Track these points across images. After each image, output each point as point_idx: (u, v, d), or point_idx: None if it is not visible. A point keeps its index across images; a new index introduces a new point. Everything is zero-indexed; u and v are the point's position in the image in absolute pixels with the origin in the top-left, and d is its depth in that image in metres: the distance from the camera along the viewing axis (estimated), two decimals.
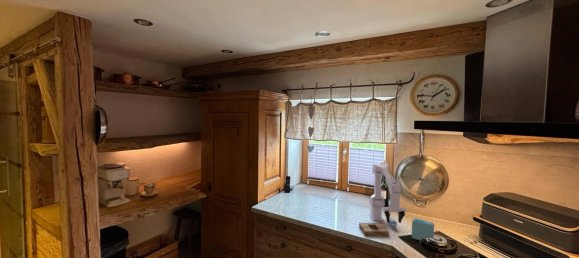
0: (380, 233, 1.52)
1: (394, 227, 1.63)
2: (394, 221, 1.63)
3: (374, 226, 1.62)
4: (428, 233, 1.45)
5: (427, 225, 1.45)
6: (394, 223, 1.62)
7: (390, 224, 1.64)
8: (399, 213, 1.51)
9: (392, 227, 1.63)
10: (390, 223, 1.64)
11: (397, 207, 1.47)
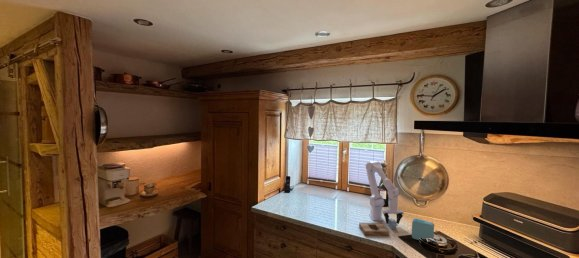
0: (380, 233, 1.52)
1: (394, 227, 1.63)
2: (394, 221, 1.63)
3: (374, 226, 1.62)
4: (428, 233, 1.45)
5: (427, 225, 1.45)
6: (394, 223, 1.62)
7: (390, 224, 1.64)
8: (397, 215, 1.65)
9: (392, 227, 1.63)
10: (390, 223, 1.64)
11: (395, 209, 1.62)
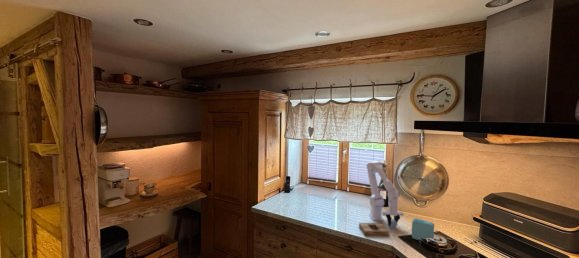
0: (380, 233, 1.52)
1: (394, 227, 1.63)
2: (394, 221, 1.63)
3: (374, 226, 1.62)
4: (428, 233, 1.45)
5: (427, 225, 1.45)
6: (394, 223, 1.62)
7: None
8: (395, 216, 1.65)
9: (392, 227, 1.63)
10: None
11: (395, 211, 1.62)
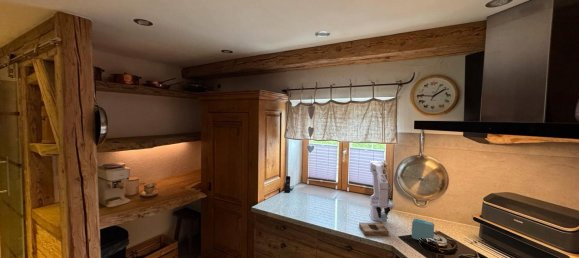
0: (380, 233, 1.52)
1: (384, 220, 1.58)
2: (384, 214, 1.58)
3: (374, 226, 1.62)
4: (428, 233, 1.45)
5: (427, 225, 1.45)
6: (384, 216, 1.58)
7: None
8: (385, 209, 1.61)
9: (382, 220, 1.58)
10: None
11: (385, 203, 1.57)
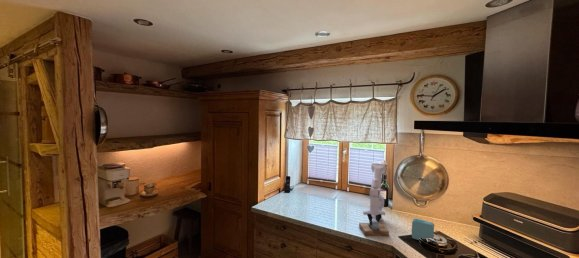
0: (380, 233, 1.52)
1: (375, 228, 1.55)
2: (376, 221, 1.56)
3: None
4: (428, 233, 1.45)
5: (427, 225, 1.45)
6: (375, 224, 1.55)
7: (371, 225, 1.57)
8: (376, 216, 1.58)
9: (373, 228, 1.55)
10: None
11: (376, 210, 1.55)
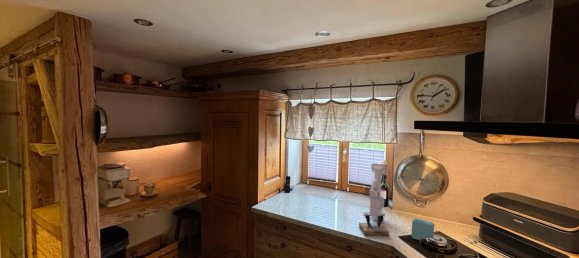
0: (380, 233, 1.52)
1: None
2: (375, 225, 1.56)
3: None
4: (428, 233, 1.45)
5: (427, 225, 1.45)
6: (375, 228, 1.55)
7: None
8: (378, 217, 1.58)
9: None
10: (371, 228, 1.57)
11: (376, 212, 1.55)
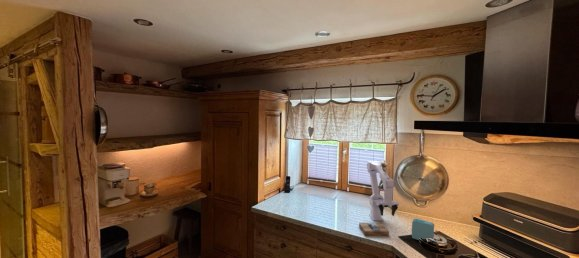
0: (380, 233, 1.52)
1: None
2: (375, 225, 1.56)
3: None
4: (428, 233, 1.45)
5: (427, 225, 1.45)
6: (375, 228, 1.55)
7: None
8: (392, 207, 1.62)
9: None
10: (371, 228, 1.57)
11: (390, 201, 1.58)
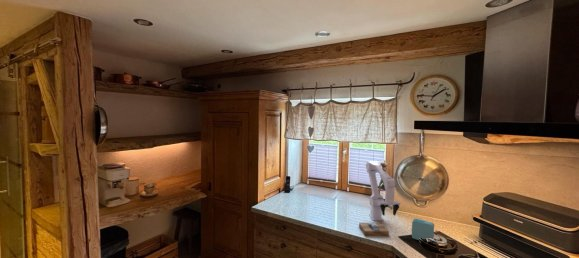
0: (380, 233, 1.52)
1: None
2: (375, 225, 1.56)
3: None
4: (428, 233, 1.45)
5: (427, 225, 1.45)
6: (375, 228, 1.55)
7: None
8: (394, 206, 1.62)
9: None
10: (371, 228, 1.57)
11: (392, 200, 1.59)
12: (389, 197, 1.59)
